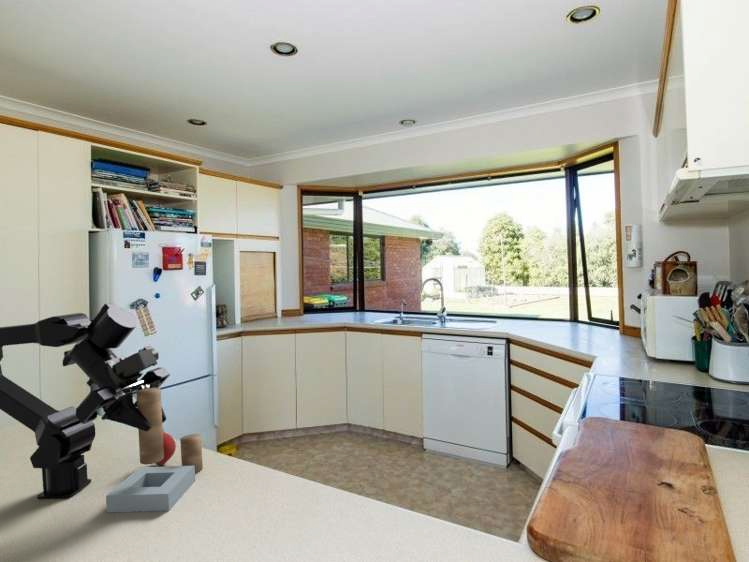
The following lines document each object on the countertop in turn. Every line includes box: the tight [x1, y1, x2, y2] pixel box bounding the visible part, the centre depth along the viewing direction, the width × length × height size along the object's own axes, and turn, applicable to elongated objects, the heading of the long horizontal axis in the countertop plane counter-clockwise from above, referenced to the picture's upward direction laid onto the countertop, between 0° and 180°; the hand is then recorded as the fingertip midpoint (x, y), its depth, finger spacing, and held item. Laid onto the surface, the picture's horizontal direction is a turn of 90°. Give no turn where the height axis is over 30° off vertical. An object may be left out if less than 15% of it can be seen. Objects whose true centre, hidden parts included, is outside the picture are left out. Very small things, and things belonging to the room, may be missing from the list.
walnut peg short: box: [179, 433, 204, 474], centre depth 94 cm, size 4×4×7 cm
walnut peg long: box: [136, 387, 164, 466], centre depth 84 cm, size 4×4×13 cm
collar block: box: [105, 465, 196, 513], centre depth 84 cm, size 11×11×3 cm
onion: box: [154, 428, 177, 467], centre depth 97 cm, size 6×6×8 cm
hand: (157, 425), depth 83 cm, fingers closed on walnut peg long, 4 cm apart
